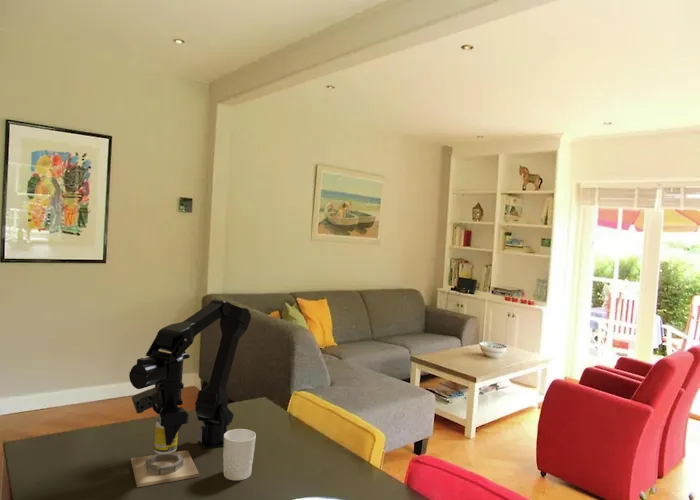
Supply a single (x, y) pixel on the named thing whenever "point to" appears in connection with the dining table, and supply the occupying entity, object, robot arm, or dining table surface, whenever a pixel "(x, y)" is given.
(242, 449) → the white cup
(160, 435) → the supplement bottle
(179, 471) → the board
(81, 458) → the dining table surface
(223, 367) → the robot arm
